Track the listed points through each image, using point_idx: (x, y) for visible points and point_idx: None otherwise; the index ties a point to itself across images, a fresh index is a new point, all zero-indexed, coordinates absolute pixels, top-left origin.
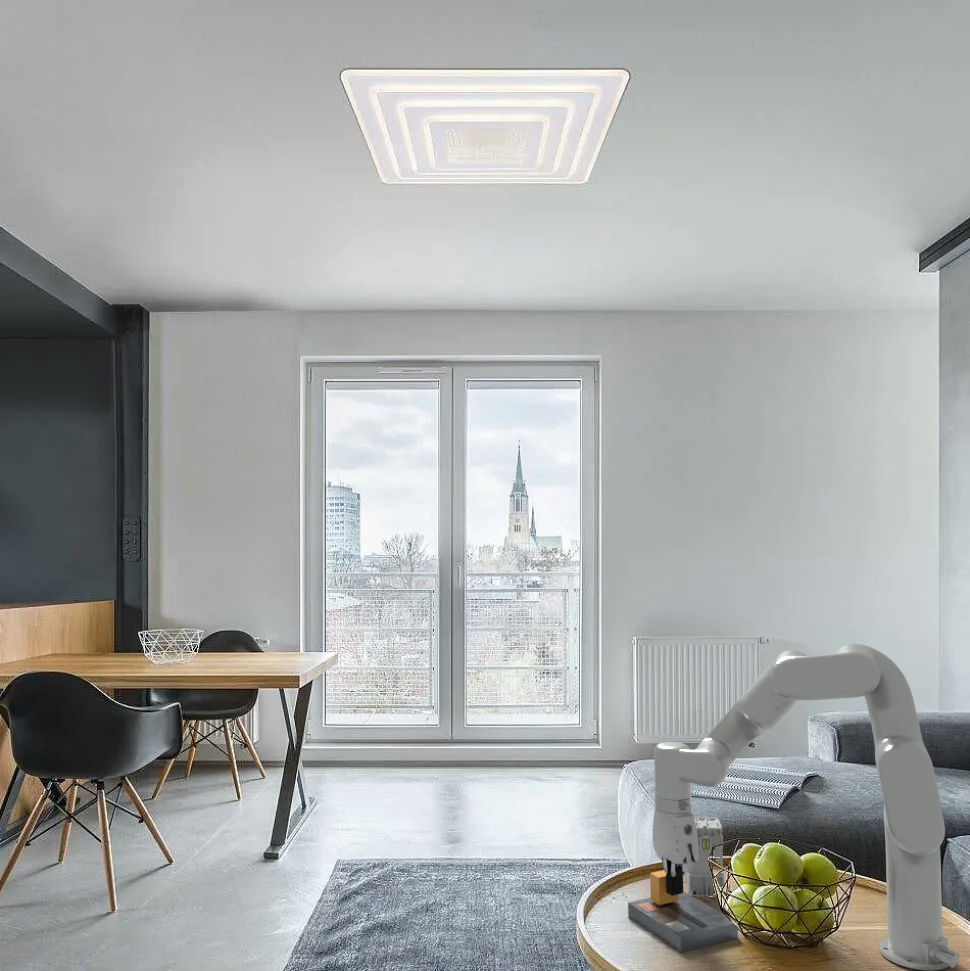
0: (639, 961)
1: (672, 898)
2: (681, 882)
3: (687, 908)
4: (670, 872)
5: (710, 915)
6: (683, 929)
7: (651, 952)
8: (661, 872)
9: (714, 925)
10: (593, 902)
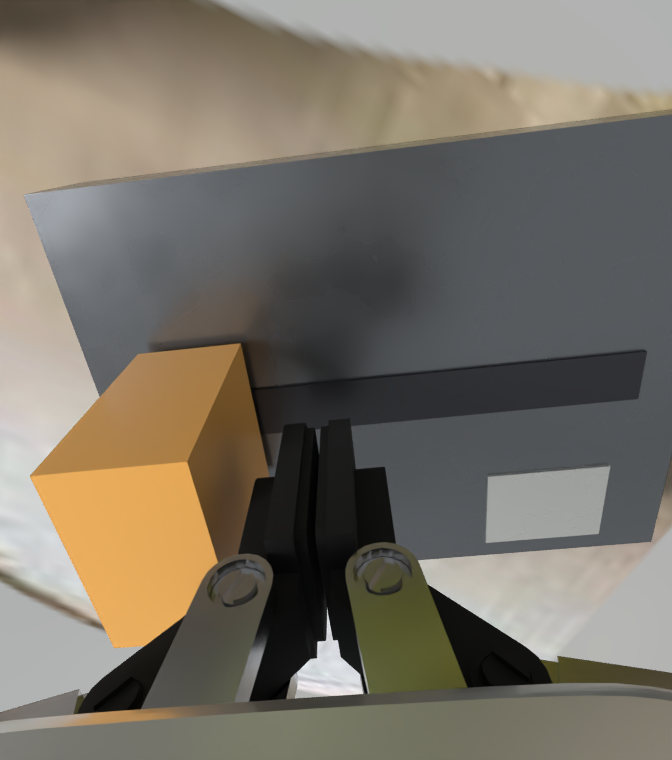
0: (569, 631)
1: (245, 403)
2: (390, 515)
3: (353, 333)
4: (310, 646)
5: (526, 242)
6: (599, 498)
7: (535, 575)
8: (123, 577)
9: (666, 307)
10: (3, 581)
